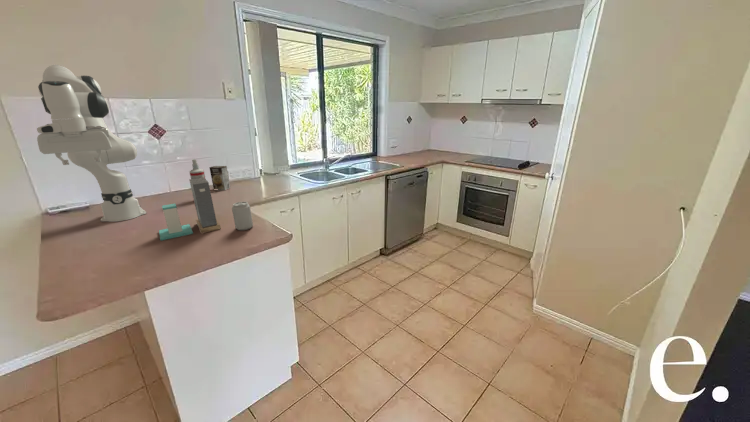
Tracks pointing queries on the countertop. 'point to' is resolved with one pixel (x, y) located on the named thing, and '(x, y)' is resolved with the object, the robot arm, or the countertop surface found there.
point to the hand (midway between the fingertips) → (82, 163)
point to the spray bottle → (196, 171)
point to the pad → (165, 233)
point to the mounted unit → (204, 205)
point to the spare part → (172, 218)
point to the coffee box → (220, 177)
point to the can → (242, 215)
